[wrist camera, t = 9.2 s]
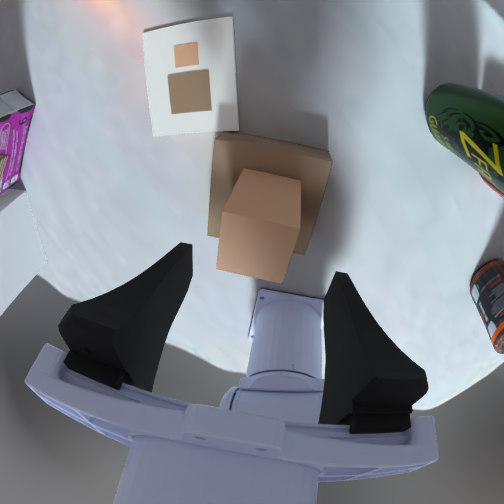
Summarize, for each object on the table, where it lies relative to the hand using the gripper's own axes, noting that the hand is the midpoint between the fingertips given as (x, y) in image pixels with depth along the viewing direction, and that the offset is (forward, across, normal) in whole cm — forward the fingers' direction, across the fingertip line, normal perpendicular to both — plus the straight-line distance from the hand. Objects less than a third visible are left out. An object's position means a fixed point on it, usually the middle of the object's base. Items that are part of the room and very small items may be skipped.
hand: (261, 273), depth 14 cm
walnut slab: (+11, +1, 0) cm, 11 cm away
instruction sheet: (+10, +8, -8) cm, 15 cm away
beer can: (+11, -12, -10) cm, 19 cm away
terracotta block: (+8, 0, 0) cm, 8 cm away
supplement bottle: (+11, -26, +4) cm, 29 cm away
